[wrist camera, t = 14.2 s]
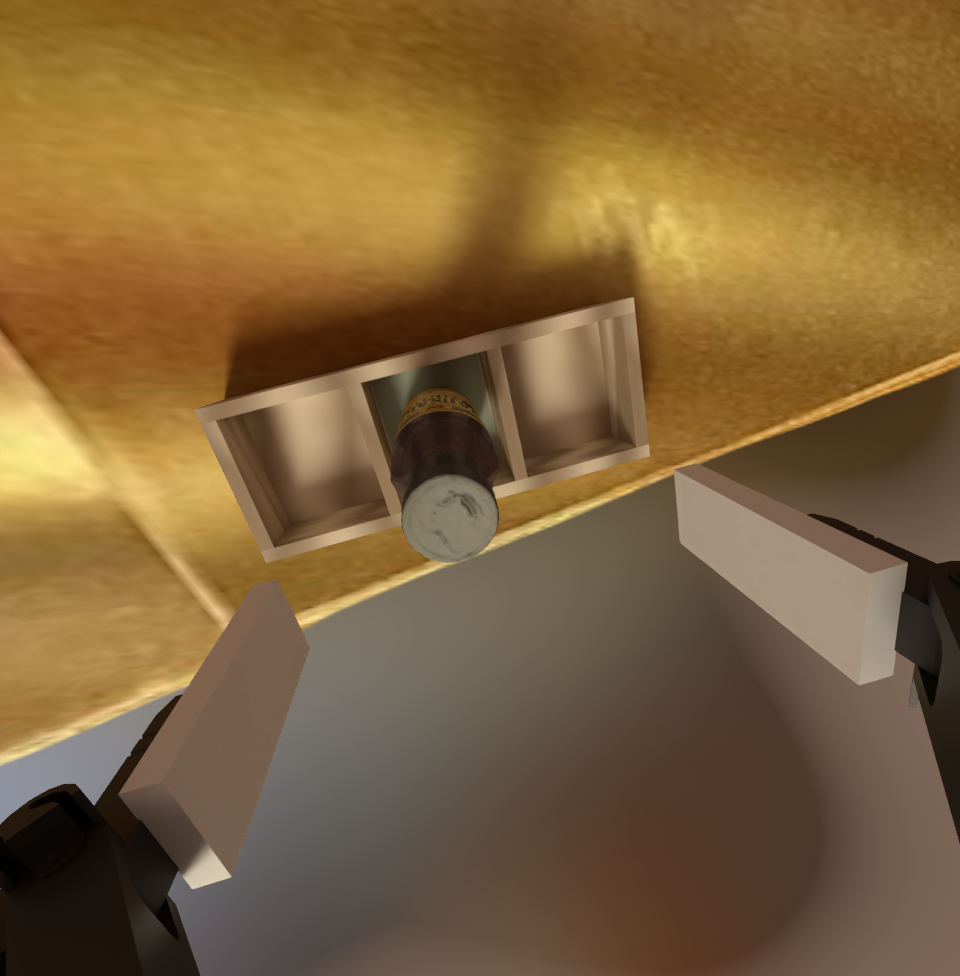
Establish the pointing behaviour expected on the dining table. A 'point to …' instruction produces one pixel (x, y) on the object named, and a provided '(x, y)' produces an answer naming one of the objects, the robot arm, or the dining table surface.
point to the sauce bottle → (445, 476)
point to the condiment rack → (383, 398)
